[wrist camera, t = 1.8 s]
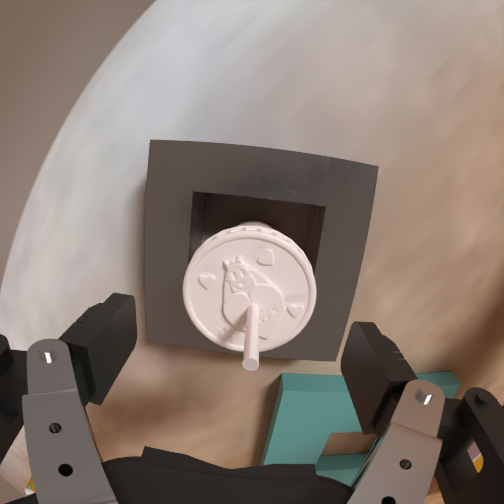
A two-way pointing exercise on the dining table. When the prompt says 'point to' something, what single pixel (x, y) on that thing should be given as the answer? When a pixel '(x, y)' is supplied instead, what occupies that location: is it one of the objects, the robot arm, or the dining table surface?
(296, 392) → the low socket
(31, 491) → the supplement bottle
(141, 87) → the dining table surface
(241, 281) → the smoothie
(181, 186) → the tall socket
